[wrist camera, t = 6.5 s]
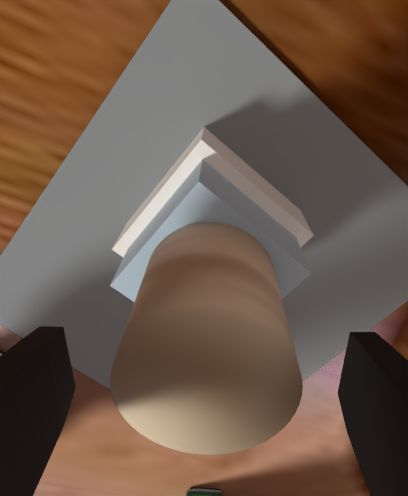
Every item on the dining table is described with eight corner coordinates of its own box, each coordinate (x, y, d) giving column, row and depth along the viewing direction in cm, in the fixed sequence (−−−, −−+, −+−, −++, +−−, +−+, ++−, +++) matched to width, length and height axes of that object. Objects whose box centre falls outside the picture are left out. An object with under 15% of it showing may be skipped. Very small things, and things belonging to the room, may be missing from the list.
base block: (218, 290, 21) (218, 324, 18) (126, 222, 19) (111, 249, 17) (300, 209, 19) (313, 235, 16) (204, 126, 17) (201, 139, 14)
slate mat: (212, 446, 27) (212, 450, 26) (-30, 302, 22) (-33, 305, 22) (469, 248, 20) (473, 250, 19) (190, -27, 15) (190, -28, 15)
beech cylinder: (217, 352, 15) (216, 477, 11) (121, 286, 14) (74, 396, 9) (302, 275, 13) (343, 385, 9) (201, 194, 12) (190, 273, 8)
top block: (217, 312, 18) (216, 358, 15) (127, 248, 17) (109, 285, 14) (296, 237, 16) (311, 273, 13) (202, 158, 15) (198, 181, 12)
